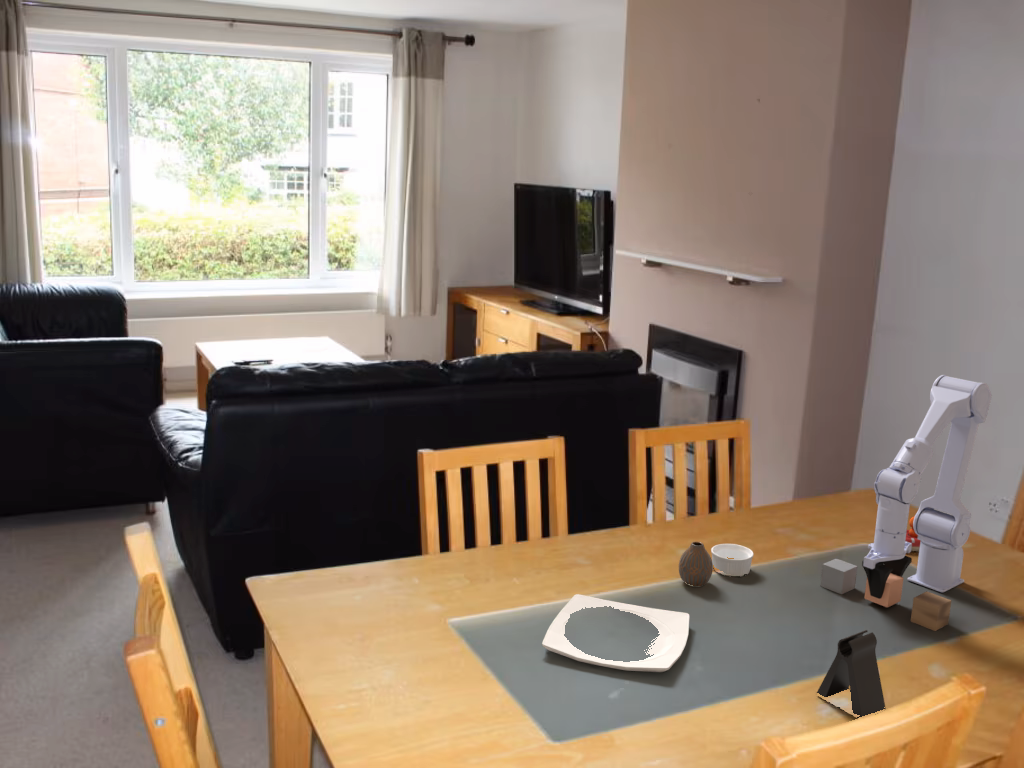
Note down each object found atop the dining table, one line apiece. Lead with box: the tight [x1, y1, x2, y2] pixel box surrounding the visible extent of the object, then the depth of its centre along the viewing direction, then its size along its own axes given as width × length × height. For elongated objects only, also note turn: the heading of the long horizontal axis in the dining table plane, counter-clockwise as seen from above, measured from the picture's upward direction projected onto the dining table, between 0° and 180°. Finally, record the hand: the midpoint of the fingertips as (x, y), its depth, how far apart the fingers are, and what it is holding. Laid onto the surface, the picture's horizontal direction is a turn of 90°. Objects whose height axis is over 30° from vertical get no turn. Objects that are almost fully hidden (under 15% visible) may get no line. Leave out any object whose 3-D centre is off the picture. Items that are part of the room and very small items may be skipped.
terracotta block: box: [864, 573, 904, 608], centre depth 197 cm, size 5×5×5 cm
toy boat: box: [905, 515, 921, 553], centre depth 228 cm, size 8×12×8 cm, turn 88°
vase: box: [678, 541, 714, 587], centre depth 204 cm, size 7×7×9 cm
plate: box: [541, 593, 690, 673], centre depth 180 cm, size 24×24×3 cm
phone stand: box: [816, 629, 887, 718], centre depth 160 cm, size 9×6×12 cm, turn 34°
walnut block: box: [910, 591, 952, 632], centre depth 190 cm, size 5×5×5 cm
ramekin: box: [710, 543, 754, 575], centre depth 212 cm, size 9×9×4 cm
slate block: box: [819, 558, 858, 595], centre depth 205 cm, size 5×5×5 cm
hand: (883, 593), depth 198 cm, fingers closed on terracotta block, 5 cm apart
